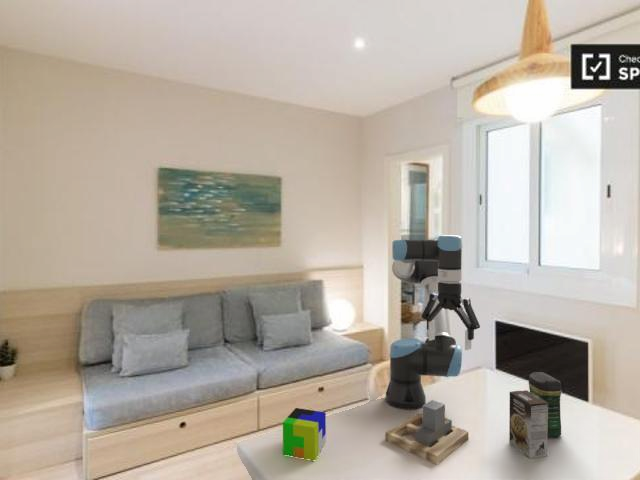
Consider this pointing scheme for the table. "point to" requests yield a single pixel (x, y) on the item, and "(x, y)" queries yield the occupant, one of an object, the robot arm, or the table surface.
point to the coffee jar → (548, 399)
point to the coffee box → (528, 423)
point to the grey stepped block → (433, 423)
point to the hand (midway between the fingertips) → (449, 344)
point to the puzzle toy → (304, 433)
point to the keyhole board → (433, 454)
